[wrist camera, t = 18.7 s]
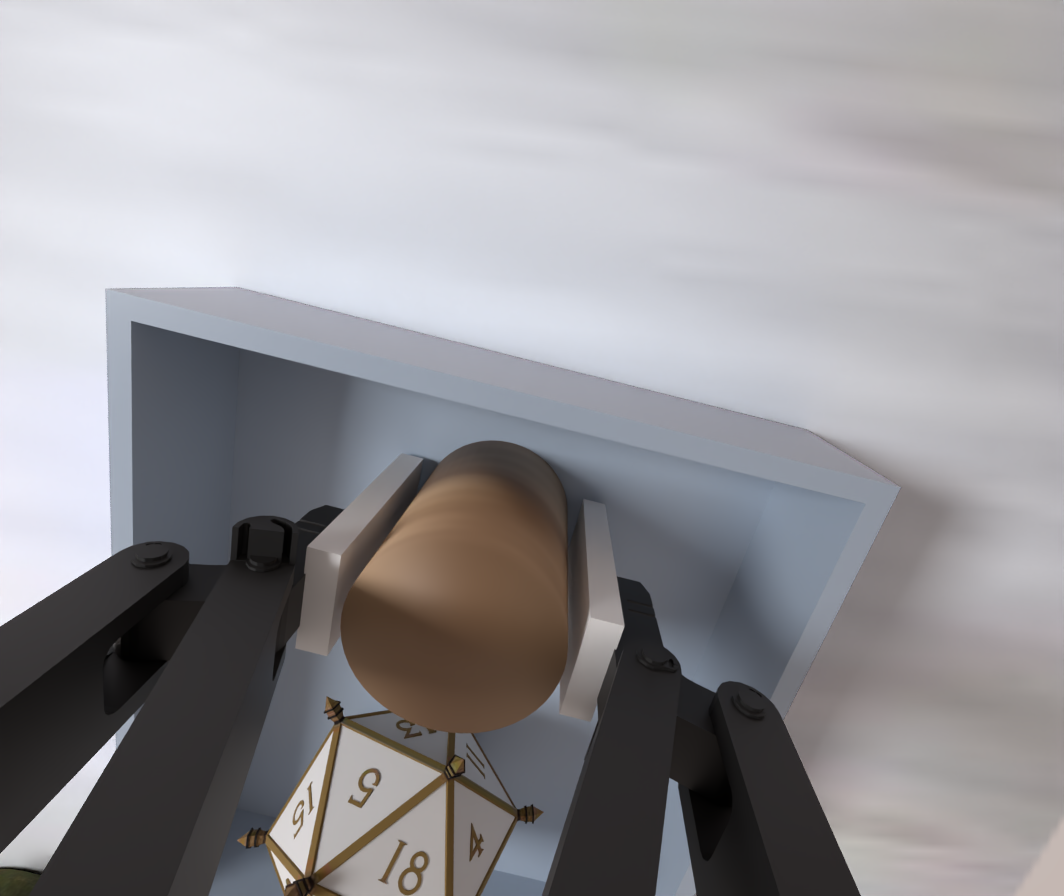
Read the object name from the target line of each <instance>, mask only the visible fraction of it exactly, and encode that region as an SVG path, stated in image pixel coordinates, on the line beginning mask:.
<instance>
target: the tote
mask: <svg viewBox="0 0 1064 896" xmlns="http://www.w3.org/2000/svg"><path fill="white" fill-rule="evenodd" d="M105 291H106V334H107V377H108V421H109V464H110V507H111V551H112V556H113V555H114V554H116V553H118V552H119V551H121V550H123V549H125V548H128V547H130V546H132V545H136V544H140V543H145V542H151V541H153V542H155V541H163V542H172V543H176V544H179V545H182V546H184V547H185V548H186V549H187V550H188V551H189V564H203V565H227V564H228V563H229V561H230V556H231V540H232V527H233V526H234V525H235V524H236V523H237V522H239V521H241V520H243V519H246V518H249V517H255V516H277V517H282V518H286V519H288V520H290V521H292V522H294V523H296V522H297V521H300V519H301V518H302V517H303V516H304V515H305V514H307V513H308V512H309V511H310V510H313V509H316V508H318V507H321V506H324V505H329V506H333V507H337V508H341V509H346V508H347V507H348V506H349V505H350V504H351V503H352V502H353V501H354V500H355V499H356V498H357V497H358V496H359V495H360V494H361V493H362V492H363V491H364V490H365V489H366V488H367V487H368V486H369V485H370V484H371V483H372V482H373V481H374V480H375V479H376V478H377V477H378V476H379V475H380V474H381V473H382V472H383V471H384V470H385V469H386V468H387V467H388V466H389V465H390V464H391V463H392V462H393V461H394V460H395V459H396V458H397V457H398V456H399V455H400V454H401V453H403V454H407V455H411V456H415V457H419V458H423V464H422V469H421V475H420V480H419V486H418V491H417V493H418V492H419V490H420V489H421V488H422V486H423V485H424V483H425V482H426V481H427V479H428V478H429V476H430V475H431V473H432V472H433V471H434V469H435V468H436V467H437V465H438V464H439V463H440V462H441V461H442V460H443V459H444V458H445V457H446V456H447V455H449V454H450V453H452V452H453V451H455V450H456V449H458V448H460V447H462V446H465V445H468V444H471V443H474V442H479V441H489V440H495V441H505V442H510V443H514V444H517V445H520V446H523V447H525V448H527V449H529V450H531V451H532V452H534V453H536V454H537V455H539V456H540V457H541V458H542V459H544V460H545V461H546V462H547V463H548V464H549V465H550V466H551V467H552V469H553V470H554V471H555V473H556V474H557V476H558V478H559V479H560V481H561V483H562V486H563V488H564V491H565V495H566V499H567V509H568V549H569V546H570V542H571V539H572V535H573V532H574V529H575V525H576V522H577V519H578V515H579V512H580V508H581V505H582V502H583V499H586V500H590V501H594V502H598V503H602V504H605V507H606V513H607V519H608V525H609V532H610V538H611V544H612V550H613V557H614V563H615V569H616V575H617V576H618V577H622V578H626V579H630V580H634V581H638V582H641V584H642V585H643V586H644V587H645V589H646V590H647V591H648V592H649V594H650V596H651V600H652V604H653V608H654V611H655V615H656V616H655V618H656V619H657V623H658V627H659V631H660V635H661V638H662V642H663V646H664V647H665V648H666V649H668V650H669V651H670V652H671V653H672V654H673V655H674V656H675V657H676V658H677V660H678V661H679V663H680V665H681V671H682V675H683V676H685V677H686V678H687V679H689V680H691V681H693V682H694V683H696V684H698V685H700V686H702V687H705V688H707V689H709V690H711V691H713V692H715V693H716V691H717V689H718V687H719V686H720V685H721V683H723V682H727V681H734V682H741V683H743V684H746V685H748V686H751V687H753V688H755V689H756V690H758V691H759V692H761V693H762V694H764V695H765V696H766V697H767V698H768V699H769V700H770V701H771V702H772V703H773V704H774V705H775V707H776V708H777V710H778V711H779V713H780V715H781V717H782V720H784V718H785V716H786V714H787V712H788V710H789V708H790V706H791V704H792V702H793V700H794V698H795V696H796V694H797V692H798V690H799V688H800V686H801V684H802V682H803V680H804V678H805V676H806V674H807V672H808V670H809V668H810V666H811V664H812V662H813V660H814V658H815V656H816V654H817V653H818V651H819V649H820V647H821V645H822V643H823V641H824V639H825V637H826V635H827V633H828V631H829V629H830V627H831V625H832V623H833V621H834V619H835V617H836V615H837V613H838V611H839V609H840V607H841V605H842V603H843V601H844V599H845V597H846V595H847V593H848V591H849V589H850V587H851V585H852V583H853V581H854V579H855V577H856V575H857V573H858V572H859V570H860V568H861V566H862V564H863V562H864V560H865V558H866V556H867V554H868V552H869V550H870V548H871V546H872V544H873V542H874V540H875V538H876V536H877V534H878V532H879V530H880V528H881V526H882V524H883V522H884V520H885V518H886V516H887V514H888V512H889V510H890V508H891V506H892V504H893V502H894V500H895V498H896V496H897V494H898V492H899V491H900V489H901V487H900V486H898V485H897V484H895V483H893V482H892V481H890V480H889V479H887V478H885V477H884V476H882V475H880V474H879V473H877V472H875V471H874V470H872V469H870V468H869V467H867V466H866V465H864V464H862V463H861V462H859V461H857V460H856V459H854V458H852V457H851V456H849V455H848V454H846V453H844V452H843V451H841V450H839V449H838V448H836V447H834V446H833V445H831V444H830V443H828V442H826V441H825V440H823V439H821V438H820V437H818V436H816V435H815V434H813V433H812V432H810V431H808V430H805V429H801V428H797V427H793V426H789V425H785V424H781V423H777V422H773V421H769V420H766V419H762V418H758V417H754V416H750V415H746V414H742V413H738V412H734V411H730V410H726V409H722V408H718V407H714V406H710V405H706V404H702V403H698V402H694V401H690V400H686V399H682V398H678V397H674V396H670V395H666V394H662V393H658V392H654V391H650V390H646V389H642V388H638V387H634V386H630V385H626V384H622V383H618V382H614V381H610V380H606V379H602V378H598V377H594V376H590V375H586V374H582V373H578V372H574V371H570V370H566V369H562V368H558V367H554V366H550V365H546V364H542V363H538V362H534V361H530V360H526V359H522V358H518V357H514V356H510V355H506V354H502V353H498V352H494V351H490V350H486V349H482V348H478V347H474V346H470V345H466V344H462V343H458V342H454V341H450V340H446V339H442V338H438V337H434V336H430V335H426V334H422V333H418V332H414V331H410V330H406V329H402V328H398V327H394V326H390V325H386V324H382V323H378V322H374V321H370V320H366V319H362V318H358V317H354V316H350V315H346V314H342V313H338V312H334V311H330V310H326V309H322V308H318V307H314V306H310V305H306V304H302V303H298V302H294V301H290V300H286V299H282V298H278V297H274V296H270V295H266V294H262V293H258V292H254V291H250V290H246V289H242V288H238V287H196V288H115V289H105ZM296 637H297V630H296V632H295V633H294V634H293V635H292V637H291V638H290V639H289V640H288V642H287V644H286V654H285V660H284V663H283V666H282V669H281V672H280V676H279V679H278V682H277V685H276V688H275V691H274V694H273V697H272V700H271V703H270V707H269V710H268V713H267V716H266V719H265V722H264V725H263V728H262V731H261V734H260V738H259V741H258V744H257V747H256V750H255V753H254V756H253V759H252V762H251V765H250V769H249V772H248V775H247V778H246V781H245V784H244V787H243V790H242V793H241V796H240V800H239V803H238V806H237V809H236V812H235V815H234V818H233V821H232V824H231V827H230V831H229V834H228V837H227V840H226V843H225V846H224V849H223V852H222V855H221V858H220V862H219V865H218V868H217V871H216V874H215V877H214V880H213V883H212V886H211V889H210V893H209V896H284V894H283V891H282V888H281V886H280V883H279V880H278V877H277V874H276V872H275V869H274V866H273V863H272V861H271V858H270V855H269V852H268V849H267V847H266V844H261V845H259V847H255V848H254V846H252V847H251V848H249V849H246V847H245V846H244V845H243V844H241V843H240V842H238V841H237V840H238V839H239V838H241V837H242V836H243V835H245V834H246V833H247V832H249V831H250V829H251V828H253V829H254V830H255V829H258V828H260V827H261V830H264V831H268V830H269V829H270V828H271V826H272V824H273V823H274V821H275V820H276V818H277V816H278V815H279V813H280V811H281V810H282V808H283V807H284V805H285V803H286V802H287V800H288V798H289V797H290V795H291V794H292V792H293V790H294V789H295V787H296V785H297V784H298V782H299V781H300V779H301V777H302V776H303V774H304V772H305V771H306V769H307V768H308V766H309V764H310V763H311V761H312V759H313V758H314V756H315V755H316V753H317V751H318V750H319V748H320V746H321V745H322V743H323V742H324V740H325V738H326V737H327V735H328V733H329V732H330V730H331V729H332V727H333V725H334V722H333V721H332V720H331V719H329V720H328V719H327V718H328V715H327V714H326V713H325V714H324V713H323V712H324V711H325V706H326V696H327V697H329V698H331V699H333V700H335V701H336V700H337V701H340V702H341V703H340V706H341V707H342V708H344V710H343V716H344V717H346V716H352V715H359V714H365V713H372V712H378V711H385V710H388V709H387V708H385V707H384V706H382V705H381V704H380V703H379V702H378V701H376V700H375V699H374V698H373V697H372V696H371V695H370V694H369V693H368V692H367V691H366V690H365V689H364V688H363V686H362V685H361V684H360V682H359V681H358V680H357V678H356V677H355V675H354V673H353V671H352V670H351V668H350V666H349V664H348V661H347V659H346V656H345V654H344V650H343V646H342V641H341V636H340V637H339V639H338V640H337V642H336V643H335V645H334V646H333V648H332V649H331V651H330V652H329V654H328V655H327V656H324V655H320V654H316V653H312V652H308V651H304V650H300V649H296V648H295V646H296ZM559 703H560V682H559V684H558V685H557V687H556V689H555V690H554V692H553V693H552V695H551V696H550V697H549V698H548V699H547V701H546V702H545V703H544V704H543V705H542V706H540V707H539V708H538V709H537V710H536V711H535V712H533V713H532V714H530V715H529V716H527V717H526V718H524V719H522V720H520V721H518V722H516V723H514V724H512V725H509V726H506V727H504V728H501V729H496V730H492V731H488V732H480V733H473V734H474V736H475V737H476V739H477V741H478V742H479V744H480V746H481V748H482V749H483V751H484V753H485V755H486V756H487V758H488V760H489V761H490V763H491V765H492V767H493V768H494V770H495V772H496V774H497V775H498V777H499V779H500V780H501V782H502V784H503V786H504V787H505V789H506V791H507V793H508V794H509V796H510V798H511V800H512V801H513V803H514V805H515V806H516V808H517V809H521V808H524V806H527V807H529V806H531V805H532V804H533V806H534V807H536V808H538V809H539V810H541V811H543V813H542V814H541V815H540V816H539V817H538V818H537V819H536V820H535V821H534V824H532V822H527V824H525V822H523V821H517V823H516V825H515V827H514V829H513V831H512V833H511V835H510V837H509V839H508V841H507V843H506V845H505V847H504V850H503V852H502V854H501V856H500V858H499V860H498V862H497V864H496V866H495V868H494V870H493V872H492V874H491V876H490V878H489V880H488V882H487V884H486V886H485V888H484V890H483V892H482V894H481V896H542V893H543V890H544V887H545V884H546V881H547V878H548V874H549V871H550V868H551V865H552V862H553V859H554V855H555V852H556V849H557V846H558V843H559V840H560V837H561V833H562V830H563V827H564V824H565V821H566V818H567V814H568V811H569V808H570V805H571V802H572V799H573V796H574V792H575V789H576V786H577V783H578V780H579V777H580V773H581V770H582V767H583V764H584V761H585V760H584V758H585V755H586V752H587V749H588V747H589V744H590V741H591V738H592V736H593V733H594V730H595V727H596V724H597V722H598V708H597V706H596V709H595V711H594V714H593V717H592V720H591V722H589V721H585V720H581V719H577V718H573V717H569V716H565V715H561V714H559ZM142 706H143V705H142ZM142 706H141V707H140V708H139V709H138V710H137V711H136V712H135V713H134V714H133V715H132V716H131V717H130V718H129V719H128V720H127V722H126V723H125V724H124V725H123V726H122V727H121V728H120V729H119V730H118V731H117V732H116V749H117V748H118V746H119V744H120V743H121V741H122V739H123V738H124V736H125V734H126V733H127V731H128V729H129V728H130V726H131V724H132V723H133V721H134V719H135V718H136V716H137V714H138V713H139V711H140V709H141V708H142ZM695 894H696V889H695V883H694V877H693V871H692V866H691V860H690V854H689V848H688V842H687V837H686V831H685V825H684V819H683V813H682V808H681V802H680V796H679V790H678V782H676V781H674V780H672V779H671V778H669V785H668V793H667V802H666V810H665V819H664V827H663V836H662V844H661V853H660V861H659V870H658V878H657V887H656V895H655V896H695Z"/></svg>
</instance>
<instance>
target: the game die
mask: <svg viewBox="0 0 1064 896" xmlns="http://www.w3.org/2000/svg"><path fill="white" fill-rule="evenodd" d="M340 703H341V702H340V701H337V700H336V701H335V700H333V699H331V698H329V697H327V696H326V706H325V711H324V712H323V713H324V714H325V713H326V714H327V715H328V718H327V719H328V720H329V719H331V720H332V721H333V722H334V725H333V727H332V729H331V730H330V732H329V733H328V735H327V737H326V738H325V740H324V742H323V743H322V745H321V746H320V748H319V750H318V751H317V753H316V755H315V756H314V758H313V759H312V761H311V763H310V764H309V766H308V768H307V769H306V771H305V772H304V774H303V776H302V777H301V779H300V781H299V782H298V784H297V785H296V787H295V789H294V790H293V792H292V794H291V795H290V797H289V798H288V800H287V802H286V803H285V805H284V807H283V808H282V810H281V811H280V813H279V815H278V816H277V818H276V820H275V821H274V823H273V824H272V826H271V828H270V829H269V830H268V831H264V830H261V827H260V828H258V829H255V830H254V829H253V828H251V829H250V831H249V832H247V833H246V834H245V835H243V836H242V837H241V838H239V839H238V840H237V841H238V842H240V843H241V844H243V845H244V846H245V847H246V849H249V848H251V847H252V846H254V848H255V847H259V845H261V844H266V847H267V849H268V852H269V855H270V858H271V861H272V863H273V866H274V869H275V872H276V874H277V877H278V880H279V883H280V886H281V888H282V891H283V894H284V896H481V894H482V892H483V890H484V888H485V886H486V884H487V882H488V880H489V878H490V876H491V874H492V872H493V870H494V868H495V866H496V864H497V862H498V860H499V858H500V856H501V854H502V852H503V850H504V847H505V845H506V843H507V841H508V839H509V837H510V835H511V833H512V831H513V829H514V827H515V825H516V823H517V821H523V822H525V824H527V822H532V824H534V821H535V820H536V819H537V818H538V817H539V816H540V815H541V814H542V813H543V811H541V810H539V809H538V808H536V807H534V806H533V804H532V805H531V806H529V807H527V806H524V808H521V809H517V808H516V806H515V805H514V803H513V801H512V800H511V798H510V796H509V794H508V793H507V791H506V789H505V787H504V786H503V784H502V782H501V780H500V779H499V777H498V775H497V774H496V772H495V770H494V768H493V767H492V765H491V763H490V761H489V760H488V758H487V756H486V755H485V753H484V751H483V749H482V748H481V746H480V744H479V742H478V741H477V739H476V737H475V736H474V734H473V733H450V732H443V731H437V730H432V729H429V728H426V727H422V726H419V725H417V724H414V723H412V722H409V721H407V720H405V719H403V718H401V717H399V716H398V715H396V714H394V713H392V712H391V711H389V710H385V711H378V712H372V713H365V714H359V715H352V716H346V717H344V716H343V710H344V708H342V707H341V706H340Z"/></svg>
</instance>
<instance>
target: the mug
mask: <svg viewBox="0 0 1064 896" xmlns="http://www.w3.org/2000/svg"><path fill="white" fill-rule="evenodd" d="M40 876H41V875H38V874H34V873H30V872H26V871H21V870H14V869H0V896H29V894H30V893H31V891H32V889H33V888H34V886H35V884H36V883H37V881H38V879H39V878H40Z"/></svg>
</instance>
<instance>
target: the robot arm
mask: <svg viewBox="0 0 1064 896" xmlns="http://www.w3.org/2000/svg"><path fill="white" fill-rule="evenodd" d="M422 464H423V458H419V457H415V456H411V455H407V454H403V453H401V454H400V455H399V456H398V457H397V458H396V459H395V460H394V461H393V462H392V463H391V464H390V465H389V466H388V467H387V468H386V469H385V470H384V471H383V472H382V473H381V474H380V475H379V476H378V477H377V478H376V479H375V480H374V481H373V482H372V483H371V484H370V485H369V486H368V487H367V488H366V489H365V490H364V491H363V492H362V493H361V494H360V495H359V496H358V497H357V498H356V499H355V500H354V501H353V502H352V503H351V504H350V505H349V506H348V507H347V508H346V509H341V508H337V507H333V506H329V505H324V506H321V507H318V508H316V509H313V510H310V511H309V512H308V513H307V514H305V515H304V516H303V517H302V518H301V519H300V521H297V522H296V523H294V522H292V521H290V520H288V519H286V518H282V517H277V516H255V517H249V518H246V519H243V520H241V521H239V522H237V523H236V524H235V525H234V526H233V527H232V540H231V556H230V561H229V563H228V564H227V565H203V564H189V551H188V550H187V549H186V548H185V547H184V546H182V545H179V544H176V543H172V542H163V541H155V542H153V541H151V542H145V543H140V544H136V545H132V546H130V547H128V548H125V549H123V550H121V551H119V552H118V553H116V554H114V555H113V556H111V557H110V558H108V559H107V560H105V561H103V562H102V563H100V564H99V565H97V566H95V567H94V568H92V569H91V570H89V571H88V572H86V573H84V574H83V575H81V576H80V577H78V578H76V579H75V580H73V581H72V582H70V583H69V584H67V585H65V586H64V587H62V588H61V589H59V590H57V591H56V592H54V593H53V594H51V595H50V596H48V597H46V598H45V599H43V600H42V601H40V602H38V603H37V604H35V605H34V606H32V607H31V608H29V609H27V610H26V611H24V612H23V613H21V614H19V615H18V616H16V617H15V618H13V619H12V620H10V621H8V622H7V623H5V624H4V625H2V626H0V853H1V852H2V851H3V850H4V849H5V848H6V847H7V846H8V845H9V844H10V843H11V842H12V841H13V840H14V839H15V838H16V837H17V836H18V834H19V833H20V832H21V831H22V830H23V829H24V828H25V827H26V826H27V825H28V824H29V823H30V822H31V821H32V820H33V819H34V818H35V817H36V816H37V815H38V814H39V813H40V811H41V810H42V809H43V808H44V807H45V806H46V805H47V804H48V803H49V802H50V801H51V800H52V799H53V798H54V797H55V796H56V795H57V794H58V793H59V792H60V791H61V790H62V788H63V787H64V786H65V785H66V784H67V783H68V782H69V781H70V780H71V779H72V778H73V777H74V776H75V775H76V774H77V773H78V772H79V771H80V770H81V769H82V768H83V767H84V765H85V764H86V763H87V762H88V761H89V760H90V759H91V758H92V757H93V756H94V755H95V754H96V753H97V752H98V751H99V750H100V749H101V748H102V747H103V746H104V745H105V744H106V742H107V741H108V740H109V739H110V738H111V737H112V736H113V735H114V734H115V733H116V732H117V731H118V730H119V729H120V728H121V727H122V726H123V725H124V724H125V723H126V722H127V720H128V719H129V718H130V717H131V716H132V715H133V714H134V713H135V712H136V711H137V710H138V709H139V708H140V707H141V706H142V705H143V706H142V708H141V709H140V711H139V713H138V714H137V716H136V718H135V719H134V721H133V723H132V724H131V726H130V728H129V729H128V731H127V733H126V734H125V736H124V738H123V739H122V741H121V743H120V744H119V746H118V748H117V749H116V751H115V753H114V754H113V756H112V758H111V759H110V761H109V763H108V764H107V766H106V768H105V769H104V771H103V773H102V774H101V776H100V778H99V779H98V781H97V783H96V784H95V786H94V788H93V789H92V791H91V793H90V794H89V796H88V798H87V799H86V801H85V803H84V804H83V806H82V808H81V809H80V811H79V813H78V814H77V816H76V818H75V819H74V821H73V823H72V824H71V826H70V828H69V829H68V831H67V833H66V834H65V836H64V838H63V839H62V841H61V843H60V844H59V846H58V848H57V849H56V851H55V853H54V854H53V856H52V858H51V859H50V861H49V863H48V864H47V866H46V868H45V869H44V871H43V873H42V874H41V876H40V878H39V879H38V881H37V883H36V884H35V886H34V888H33V889H32V891H31V893H30V894H29V896H209V893H210V889H211V886H212V883H213V880H214V877H215V874H216V871H217V868H218V865H219V862H220V858H221V855H222V852H223V849H224V846H225V843H226V840H227V837H228V834H229V831H230V827H231V824H232V821H233V818H234V815H235V812H236V809H237V806H238V803H239V800H240V796H241V793H242V790H243V787H244V784H245V781H246V778H247V775H248V772H249V769H250V765H251V762H252V759H253V756H254V753H255V750H256V747H257V744H258V741H259V738H260V734H261V731H262V728H263V725H264V722H265V719H266V716H267V713H268V710H269V707H270V703H271V700H272V697H273V694H274V691H275V688H276V685H277V682H278V679H279V676H280V672H281V669H282V666H283V663H284V660H285V654H286V644H287V642H288V640H289V639H290V638H291V637H292V635H293V634H294V633H295V632H296V630H297V637H296V646H295V648H296V649H300V650H304V651H308V652H312V653H316V654H320V655H324V656H327V655H328V654H329V652H330V651H331V649H332V648H333V646H334V645H335V643H336V642H337V640H338V639H339V637H340V636H341V631H340V625H341V614H342V610H343V606H344V602H345V600H346V597H347V595H348V592H349V591H350V589H351V587H352V586H353V584H354V582H355V581H356V579H357V578H358V576H359V575H360V574H361V572H362V571H363V569H364V568H365V567H366V565H367V564H368V562H369V561H370V560H371V558H372V557H373V555H374V554H375V553H376V551H377V550H378V548H379V547H380V545H381V544H382V543H383V541H384V540H385V538H386V537H387V536H388V534H389V533H390V531H391V530H392V529H393V527H394V526H395V524H396V523H397V521H398V520H399V519H400V517H401V516H402V514H403V513H404V512H405V510H406V509H407V507H408V506H409V505H410V503H411V502H412V500H413V499H414V497H415V496H416V495H417V491H418V486H419V480H420V475H421V469H422ZM655 616H656V615H655V611H654V608H653V604H652V600H651V596H650V594H649V592H648V591H647V590H646V589H645V587H644V586H643V585H642V584H641V582H638V581H634V580H630V579H626V578H622V577H618V576H617V575H616V569H615V563H614V557H613V550H612V544H611V538H610V532H609V525H608V519H607V513H606V507H605V504H602V503H598V502H594V501H590V500H586V499H583V502H582V505H581V508H580V512H579V515H578V519H577V522H576V525H575V529H574V532H573V535H572V539H571V542H570V546H569V549H568V653H567V661H566V665H565V670H564V672H563V675H562V677H561V680H560V703H559V714H561V715H565V716H569V717H573V718H577V719H581V720H585V721H589V722H591V720H592V717H593V714H594V711H595V709H596V706H597V708H598V722H597V724H596V727H595V730H594V733H593V736H592V738H591V741H590V744H589V747H588V749H587V752H586V755H585V758H584V760H585V761H584V764H583V767H582V770H581V773H580V777H579V780H578V783H577V786H576V789H575V792H574V796H573V799H572V802H571V805H570V808H569V811H568V814H567V818H566V821H565V824H564V827H563V830H562V833H561V837H560V840H559V843H558V846H557V849H556V852H555V855H554V859H553V862H552V865H551V868H550V871H549V874H548V878H547V881H546V884H545V887H544V890H543V893H542V896H655V895H656V887H657V878H658V870H659V861H660V853H661V844H662V836H663V827H664V819H665V810H666V802H667V793H668V785H669V778H671V779H672V780H674V781H676V782H678V790H679V796H680V802H681V808H682V813H683V819H684V825H685V831H686V837H687V842H688V848H689V854H690V860H691V866H692V871H693V877H694V883H695V889H696V895H697V896H861V895H860V893H859V891H858V888H857V886H856V884H855V882H854V879H853V877H852V875H851V873H850V870H849V868H848V866H847V864H846V861H845V859H844V857H843V855H842V852H841V850H840V848H839V846H838V843H837V841H836V839H835V837H834V834H833V832H832V830H831V828H830V825H829V823H828V821H827V819H826V816H825V814H824V812H823V810H822V807H821V805H820V803H819V801H818V798H817V796H816V794H815V792H814V789H813V787H812V785H811V783H810V780H809V778H808V776H807V774H806V771H805V769H804V767H803V765H802V762H801V760H800V758H799V756H798V753H797V751H796V749H795V747H794V744H793V742H792V740H791V738H790V735H789V733H788V731H787V729H786V726H785V724H784V722H783V720H782V717H781V715H780V713H779V711H778V710H777V708H776V707H775V705H774V704H773V703H772V702H771V701H770V700H769V699H768V698H767V697H766V696H765V695H764V694H762V693H761V692H759V691H758V690H756V689H755V688H753V687H751V686H748V685H746V684H743V683H741V682H734V681H727V682H723V683H721V685H720V686H719V687H718V689H717V691H716V693H715V692H713V691H711V690H709V689H707V688H705V687H702V686H700V685H698V684H696V683H694V682H693V681H691V680H689V679H687V678H686V677H685V676H683V675H682V671H681V665H680V663H679V661H678V660H677V658H676V657H675V656H674V655H673V654H672V653H671V652H670V651H669V650H668V649H666V648H665V647H664V646H663V642H662V638H661V635H660V631H659V627H658V623H657V619H656V618H655Z"/></svg>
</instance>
